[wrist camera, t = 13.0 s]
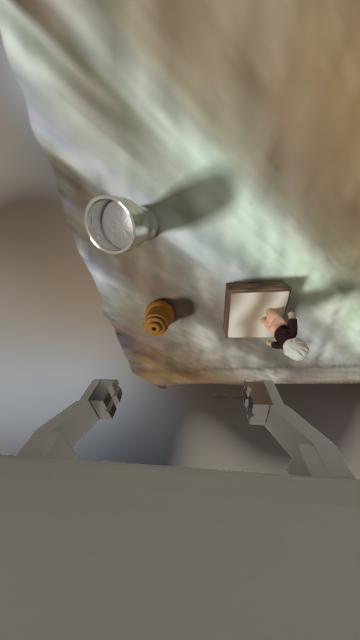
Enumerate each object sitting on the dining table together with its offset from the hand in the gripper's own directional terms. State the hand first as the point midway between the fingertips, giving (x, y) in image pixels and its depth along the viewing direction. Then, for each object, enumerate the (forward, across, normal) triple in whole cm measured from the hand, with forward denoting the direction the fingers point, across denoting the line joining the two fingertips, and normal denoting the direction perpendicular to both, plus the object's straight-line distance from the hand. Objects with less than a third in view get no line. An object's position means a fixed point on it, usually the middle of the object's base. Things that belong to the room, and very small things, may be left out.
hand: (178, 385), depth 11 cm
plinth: (+31, -13, +10) cm, 35 cm away
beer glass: (+31, +9, -10) cm, 34 cm away
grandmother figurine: (+26, -16, +10) cm, 32 cm away
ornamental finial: (+32, +9, +10) cm, 34 cm away
